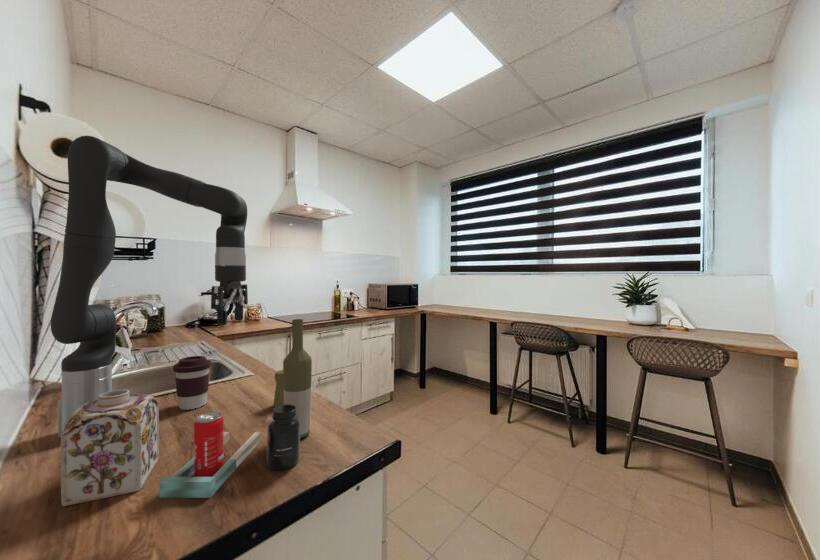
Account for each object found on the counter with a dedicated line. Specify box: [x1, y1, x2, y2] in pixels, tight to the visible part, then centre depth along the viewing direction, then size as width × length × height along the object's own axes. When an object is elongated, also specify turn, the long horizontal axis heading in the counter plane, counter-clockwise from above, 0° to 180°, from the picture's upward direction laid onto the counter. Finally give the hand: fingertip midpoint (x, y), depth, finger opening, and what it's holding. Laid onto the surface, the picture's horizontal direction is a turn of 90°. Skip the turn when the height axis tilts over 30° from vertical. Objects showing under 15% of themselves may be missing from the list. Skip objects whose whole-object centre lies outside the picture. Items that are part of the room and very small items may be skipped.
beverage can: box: [193, 411, 225, 477], centre depth 67 cm, size 5×5×12 cm
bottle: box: [282, 318, 313, 439], centre depth 83 cm, size 7×7×30 cm
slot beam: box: [158, 431, 262, 499], centre depth 71 cm, size 10×21×3 cm, turn 0°
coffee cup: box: [172, 355, 212, 411], centre depth 101 cm, size 10×10×15 cm
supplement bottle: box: [266, 405, 301, 471], centre depth 72 cm, size 7×7×12 cm
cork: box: [272, 369, 284, 408], centre depth 103 cm, size 6×6×11 cm
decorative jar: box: [60, 389, 160, 507], centre depth 65 cm, size 12×12×18 cm
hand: (230, 322), depth 90 cm, fingers open, 8 cm apart
